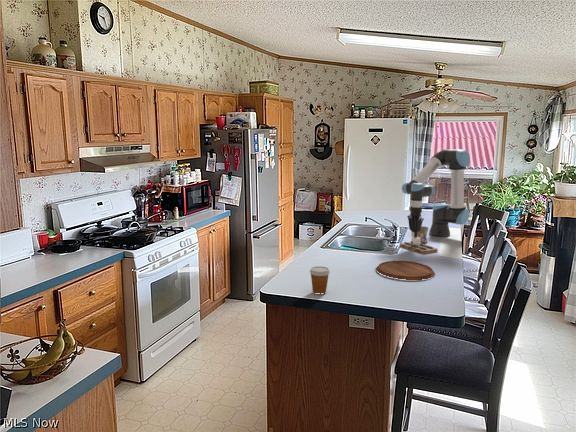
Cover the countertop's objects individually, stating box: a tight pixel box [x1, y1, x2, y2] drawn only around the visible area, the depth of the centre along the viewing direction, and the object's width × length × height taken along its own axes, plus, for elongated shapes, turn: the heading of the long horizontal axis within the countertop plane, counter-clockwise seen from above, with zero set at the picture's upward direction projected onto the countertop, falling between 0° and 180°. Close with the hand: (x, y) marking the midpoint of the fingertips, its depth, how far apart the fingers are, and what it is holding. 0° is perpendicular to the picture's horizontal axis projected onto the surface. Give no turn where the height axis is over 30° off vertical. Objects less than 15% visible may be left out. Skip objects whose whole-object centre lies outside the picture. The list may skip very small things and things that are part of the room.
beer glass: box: [309, 265, 331, 294], centre depth 219 cm, size 10×10×12 cm
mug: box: [410, 225, 430, 244], centre depth 321 cm, size 12×9×11 cm
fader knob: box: [413, 237, 421, 246], centre depth 303 cm, size 3×4×5 cm
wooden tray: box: [399, 240, 438, 255], centre depth 302 cm, size 22×12×3 cm, turn 29°
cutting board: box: [375, 260, 436, 280], centre depth 254 cm, size 32×32×2 cm
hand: (414, 241), depth 305 cm, fingers closed
